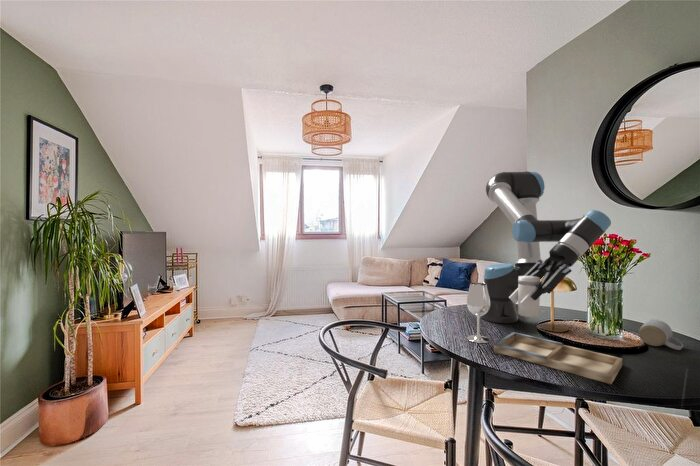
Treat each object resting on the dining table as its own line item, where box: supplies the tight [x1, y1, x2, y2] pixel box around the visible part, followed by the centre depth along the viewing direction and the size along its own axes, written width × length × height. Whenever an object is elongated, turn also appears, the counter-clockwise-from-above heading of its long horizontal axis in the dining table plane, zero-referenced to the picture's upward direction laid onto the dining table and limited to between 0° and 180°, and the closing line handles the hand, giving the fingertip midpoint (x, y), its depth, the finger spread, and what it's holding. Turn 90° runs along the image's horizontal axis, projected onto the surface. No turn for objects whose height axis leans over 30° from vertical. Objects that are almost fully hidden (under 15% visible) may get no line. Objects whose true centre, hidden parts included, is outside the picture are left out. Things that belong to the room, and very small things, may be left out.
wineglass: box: [466, 282, 491, 344], centre depth 118 cm, size 8×8×20 cm
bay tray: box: [493, 331, 623, 385], centre depth 101 cm, size 30×16×3 cm, turn 43°
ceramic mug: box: [638, 318, 684, 351], centre depth 111 cm, size 11×8×8 cm
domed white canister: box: [517, 276, 541, 318], centre depth 106 cm, size 6×6×12 cm
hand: (517, 302), depth 106 cm, fingers closed on domed white canister, 6 cm apart
